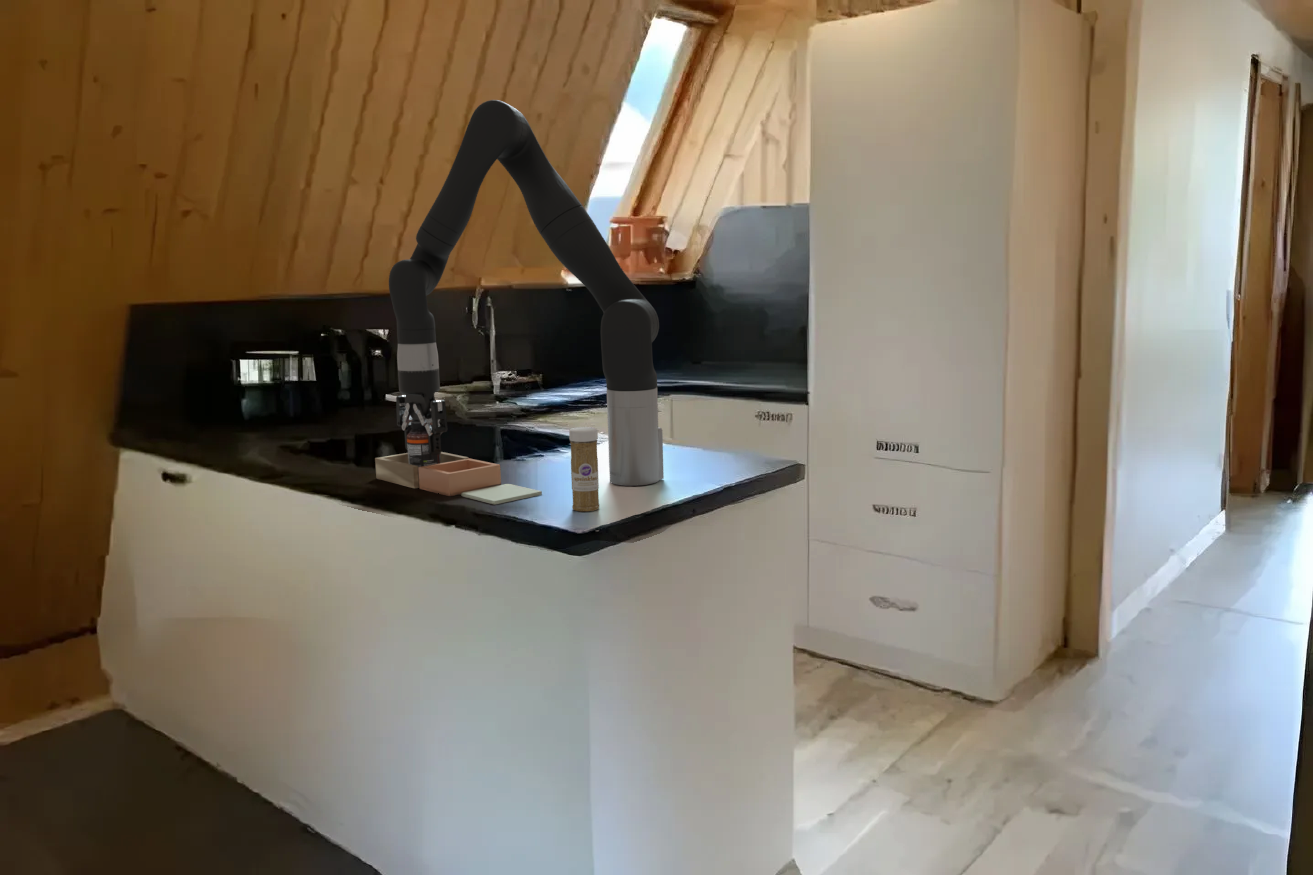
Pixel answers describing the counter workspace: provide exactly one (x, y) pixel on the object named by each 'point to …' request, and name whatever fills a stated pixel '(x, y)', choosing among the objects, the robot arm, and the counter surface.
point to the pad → (501, 493)
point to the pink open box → (459, 476)
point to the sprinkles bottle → (584, 468)
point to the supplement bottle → (420, 446)
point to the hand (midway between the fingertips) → (423, 452)
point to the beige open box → (405, 468)
